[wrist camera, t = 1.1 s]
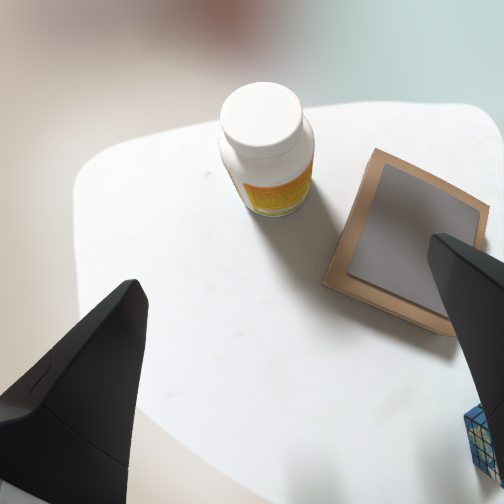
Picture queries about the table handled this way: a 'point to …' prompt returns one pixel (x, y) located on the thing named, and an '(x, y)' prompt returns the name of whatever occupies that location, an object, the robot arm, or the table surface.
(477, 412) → the puzzle
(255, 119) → the supplement bottle
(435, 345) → the table surface
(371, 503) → the table surface
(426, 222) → the base block
